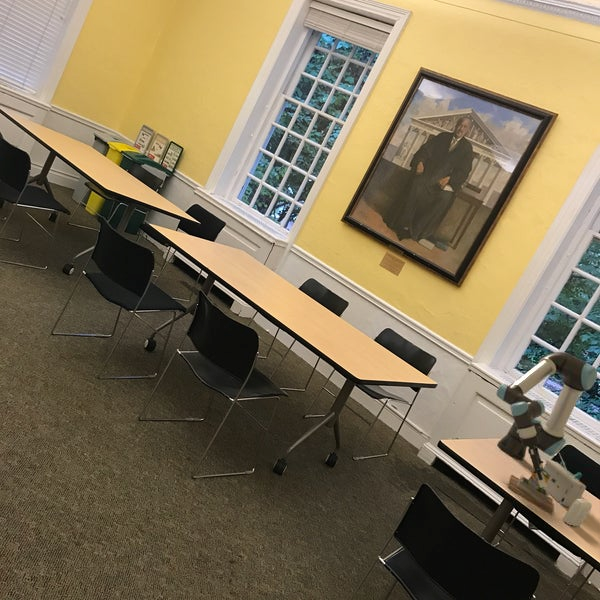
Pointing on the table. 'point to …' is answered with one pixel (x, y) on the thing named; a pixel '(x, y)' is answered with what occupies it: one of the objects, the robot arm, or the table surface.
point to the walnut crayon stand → (531, 493)
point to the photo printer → (577, 512)
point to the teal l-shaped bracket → (571, 473)
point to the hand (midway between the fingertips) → (543, 482)
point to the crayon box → (534, 481)
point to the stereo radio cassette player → (562, 483)
